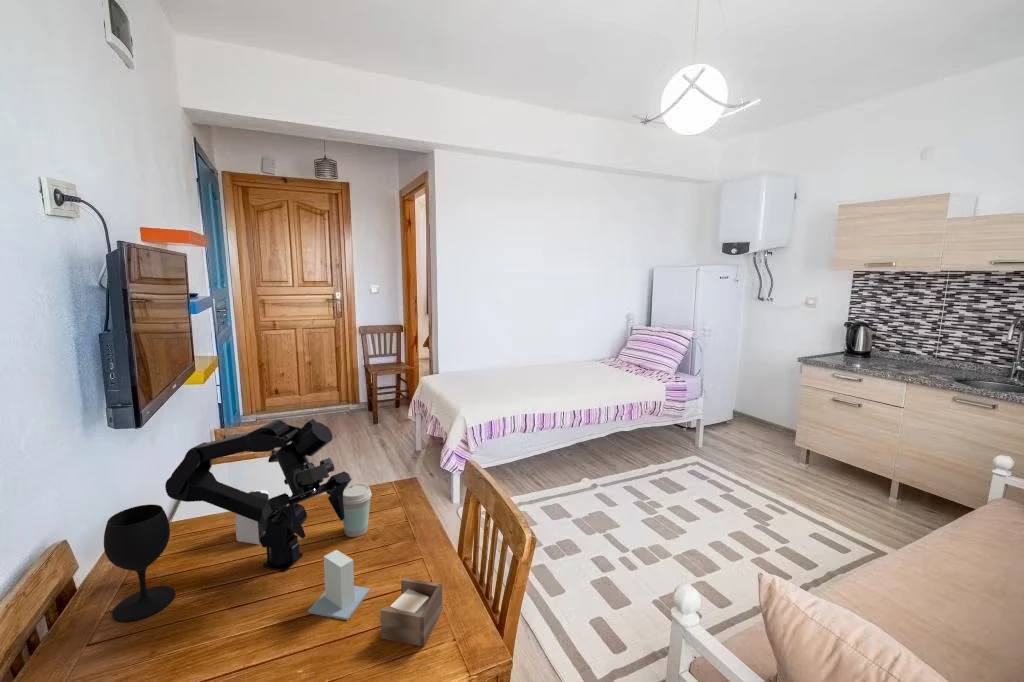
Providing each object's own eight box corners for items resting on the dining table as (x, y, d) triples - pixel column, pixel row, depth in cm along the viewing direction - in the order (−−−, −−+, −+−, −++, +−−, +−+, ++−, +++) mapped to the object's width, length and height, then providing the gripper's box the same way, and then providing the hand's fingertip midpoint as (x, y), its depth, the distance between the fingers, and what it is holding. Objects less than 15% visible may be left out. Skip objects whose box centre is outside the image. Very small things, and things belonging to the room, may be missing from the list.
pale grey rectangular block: (325, 597, 96) (323, 556, 95) (337, 589, 99) (336, 549, 97) (342, 609, 93) (340, 567, 92) (354, 601, 95) (353, 559, 94)
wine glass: (104, 629, 87) (93, 534, 84) (120, 596, 96) (111, 508, 93) (170, 612, 92) (161, 521, 89) (179, 582, 101) (172, 498, 98)
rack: (381, 638, 86) (380, 610, 85) (403, 603, 95) (402, 577, 95) (424, 646, 84) (424, 617, 84) (442, 610, 94) (442, 584, 93)
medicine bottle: (259, 545, 115) (257, 501, 114) (235, 541, 117) (233, 498, 115) (279, 530, 122) (277, 488, 121) (256, 527, 124) (254, 485, 122)
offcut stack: (387, 629, 89) (387, 609, 88) (406, 607, 95) (406, 588, 94) (414, 639, 86) (413, 618, 86) (431, 616, 92) (431, 596, 92)
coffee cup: (360, 519, 128) (358, 479, 127) (379, 529, 123) (378, 488, 122) (333, 532, 121) (331, 491, 120) (352, 544, 116) (350, 500, 115)
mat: (307, 612, 92) (307, 610, 92) (333, 584, 101) (333, 582, 101) (347, 620, 91) (347, 618, 90) (370, 590, 99) (369, 588, 99)
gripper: (264, 463, 93) (294, 531, 88) (345, 438, 107) (375, 496, 102) (250, 488, 98) (277, 553, 93) (328, 461, 113) (355, 517, 108)
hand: (324, 528), depth 99 cm, fingers open, 9 cm apart
